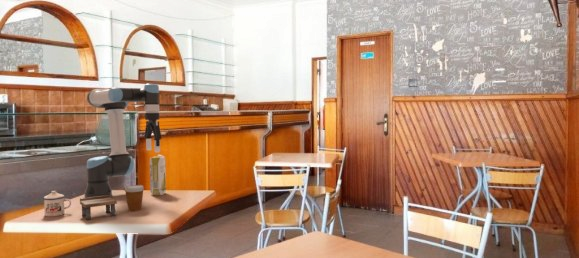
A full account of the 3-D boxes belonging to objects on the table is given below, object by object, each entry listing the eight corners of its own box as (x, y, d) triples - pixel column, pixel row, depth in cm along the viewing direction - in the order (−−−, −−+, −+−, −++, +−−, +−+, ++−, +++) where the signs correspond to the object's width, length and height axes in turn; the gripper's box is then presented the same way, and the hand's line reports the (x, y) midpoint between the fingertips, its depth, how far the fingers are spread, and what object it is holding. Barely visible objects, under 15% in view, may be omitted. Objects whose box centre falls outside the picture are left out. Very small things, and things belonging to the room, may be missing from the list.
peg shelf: (80, 215, 210) (79, 198, 210) (110, 211, 219) (109, 194, 218) (85, 220, 201) (85, 202, 200) (117, 216, 209) (116, 198, 209)
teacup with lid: (42, 217, 208) (42, 193, 207) (45, 213, 216) (44, 190, 216) (70, 214, 213) (70, 191, 212) (72, 211, 221) (71, 188, 220)
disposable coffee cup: (138, 212, 217) (137, 188, 216) (121, 211, 219) (120, 187, 218) (148, 207, 226) (147, 185, 225) (131, 207, 228) (131, 184, 227)
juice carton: (162, 195, 257) (161, 155, 256) (149, 195, 258) (148, 155, 256) (167, 192, 267) (166, 154, 266) (154, 192, 267) (153, 154, 266)
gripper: (138, 112, 244) (138, 150, 245) (153, 112, 223) (154, 153, 225) (151, 112, 248) (152, 149, 249) (167, 112, 228) (168, 152, 229)
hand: (153, 151), depth 237 cm, fingers open, 13 cm apart
